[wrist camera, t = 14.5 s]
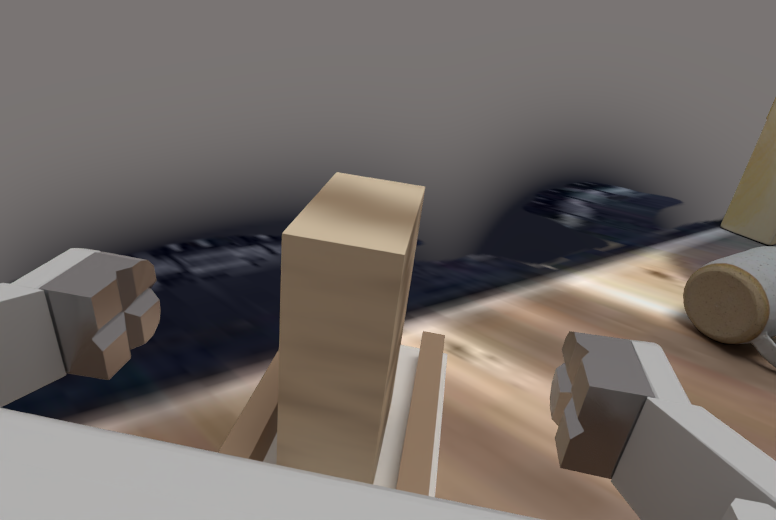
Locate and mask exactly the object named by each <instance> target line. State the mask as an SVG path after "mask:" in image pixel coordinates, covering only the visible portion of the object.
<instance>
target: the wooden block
mask: <svg viewBox="0 0 776 520" xmlns="http://www.w3.org/2000/svg"><path fill="white" fill-rule="evenodd" d="M424 192H425V187H424V186H418V185H411V184H405V183H400V182H393V181H387V180H381V179H375V178H369V177H362V176H356V175H350V174H343V173H338V172H337V173H336V174H335V175H334V176H333V177H332V178H331V179H330V181H329V182H328V183H327V184H326V185H325V186H324V187H323V188H322V189H321V191H320V192H319V193H318V194H317V195H316V196H315V197H314V198H313V199H312V201H311V202H310V203H309V204H308V205H307V206H306V207H305V208H304V210H303V211H302V212H301V213H300V214H299V215H298V216H297V217H296V218H295V220H294V221H293V222H292V223H291V224H290V225H289V226H288V227H287V229H286V230H285V231H284V232H283V233H282V258H281V299H280V340H279V381H278V422H277V463H276V465H281V466H286V467H290V468H295V469H300V470H305V471H310V472H315V473H320V474H325V475H330V476H334V477H339V478H344V479H349V480H354V481H359V482H363V483H368V484H373V483H374V479H375V474H376V470H377V465H378V461H379V456H380V452H381V447H382V443H383V438H384V434H385V429H386V425H387V420H388V416H389V411H390V407H391V402H392V396H393V389H394V383H395V377H396V370H397V364H398V358H399V351H400V345H401V338H402V332H403V326H404V319H405V313H406V307H407V300H408V294H409V287H410V281H411V275H412V268H413V262H414V256H415V249H416V243H417V236H418V230H419V224H420V217H421V211H422V204H423V198H424Z"/></svg>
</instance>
